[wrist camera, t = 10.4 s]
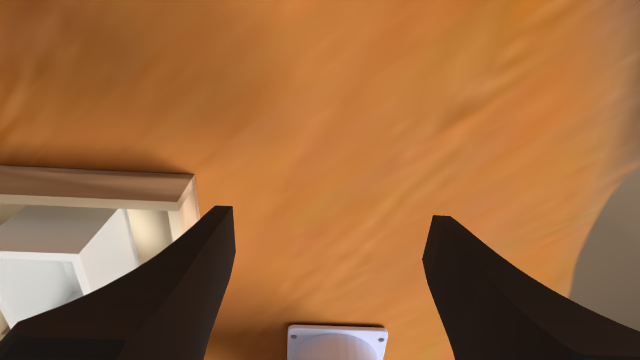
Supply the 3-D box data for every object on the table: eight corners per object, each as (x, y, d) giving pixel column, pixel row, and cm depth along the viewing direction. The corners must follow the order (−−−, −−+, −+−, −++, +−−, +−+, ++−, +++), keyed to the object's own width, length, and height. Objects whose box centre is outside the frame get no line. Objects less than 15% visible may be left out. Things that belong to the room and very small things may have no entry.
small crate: (147, 293, 27) (113, 355, 22) (72, 291, 26) (23, 353, 22) (124, 201, 23) (78, 254, 18) (36, 197, 23) (-31, 250, 18)
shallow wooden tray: (211, 310, 28) (199, 346, 26) (27, 303, 28) (-6, 340, 25) (194, 174, 23) (177, 202, 20) (-38, 163, 22) (-90, 190, 19)
